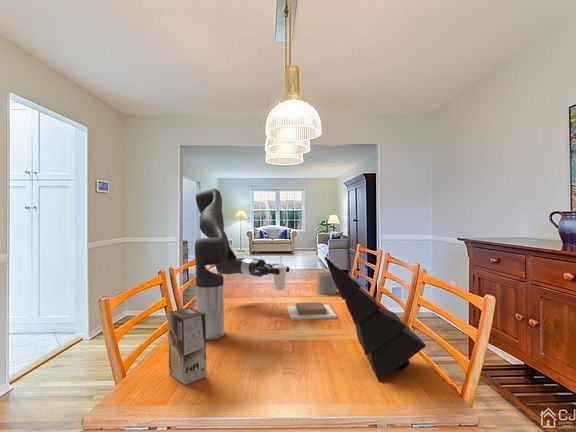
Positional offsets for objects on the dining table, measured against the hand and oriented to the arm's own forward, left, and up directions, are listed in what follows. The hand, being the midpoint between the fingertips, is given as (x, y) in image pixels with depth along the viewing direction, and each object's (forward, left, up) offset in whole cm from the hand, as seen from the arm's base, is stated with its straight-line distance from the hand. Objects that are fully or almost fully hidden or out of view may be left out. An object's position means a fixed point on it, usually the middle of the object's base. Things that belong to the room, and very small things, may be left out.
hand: (284, 270), depth 138 cm
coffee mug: (+33, -27, -18) cm, 46 cm away
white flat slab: (-1, -11, -18) cm, 21 cm away
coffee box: (-50, +29, -18) cm, 61 cm away
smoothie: (+2, +2, -8) cm, 9 cm away
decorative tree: (-52, -19, -18) cm, 58 cm away
